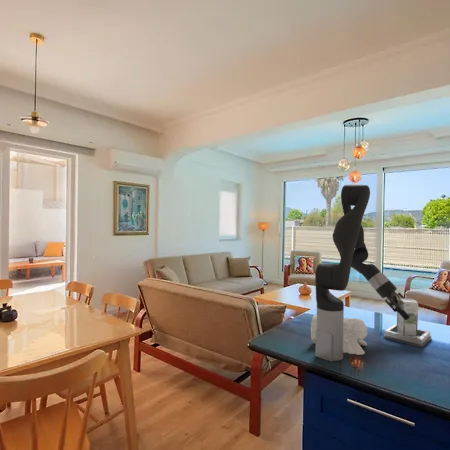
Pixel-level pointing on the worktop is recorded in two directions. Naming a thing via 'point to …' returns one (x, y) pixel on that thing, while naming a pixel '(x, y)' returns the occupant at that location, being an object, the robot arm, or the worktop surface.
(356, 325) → the cherub figurine
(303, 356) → the worktop surface
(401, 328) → the syrup box
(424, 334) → the tray
